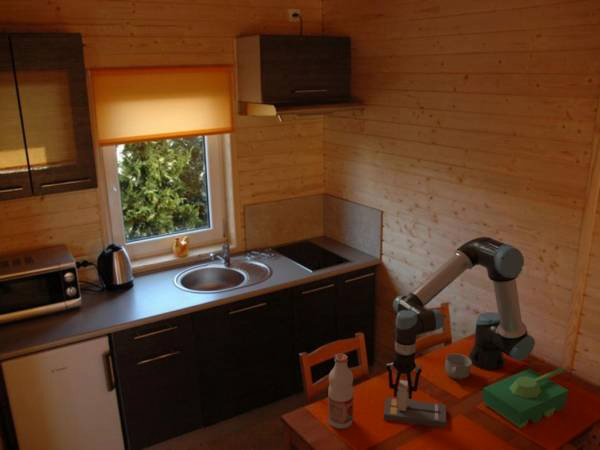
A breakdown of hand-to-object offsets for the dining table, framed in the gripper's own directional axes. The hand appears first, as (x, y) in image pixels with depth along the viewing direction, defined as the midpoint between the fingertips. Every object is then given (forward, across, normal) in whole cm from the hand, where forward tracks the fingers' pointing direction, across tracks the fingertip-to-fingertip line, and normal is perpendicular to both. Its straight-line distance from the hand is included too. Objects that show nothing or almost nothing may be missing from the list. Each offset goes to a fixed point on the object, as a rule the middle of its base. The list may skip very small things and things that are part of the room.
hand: (402, 404), depth 208 cm
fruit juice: (+4, -23, -10) cm, 25 cm away
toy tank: (+5, +49, +16) cm, 52 cm away
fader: (+1, 0, 0) cm, 1 cm away
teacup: (+4, +22, +30) cm, 37 cm away
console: (+4, +5, 0) cm, 6 cm away
